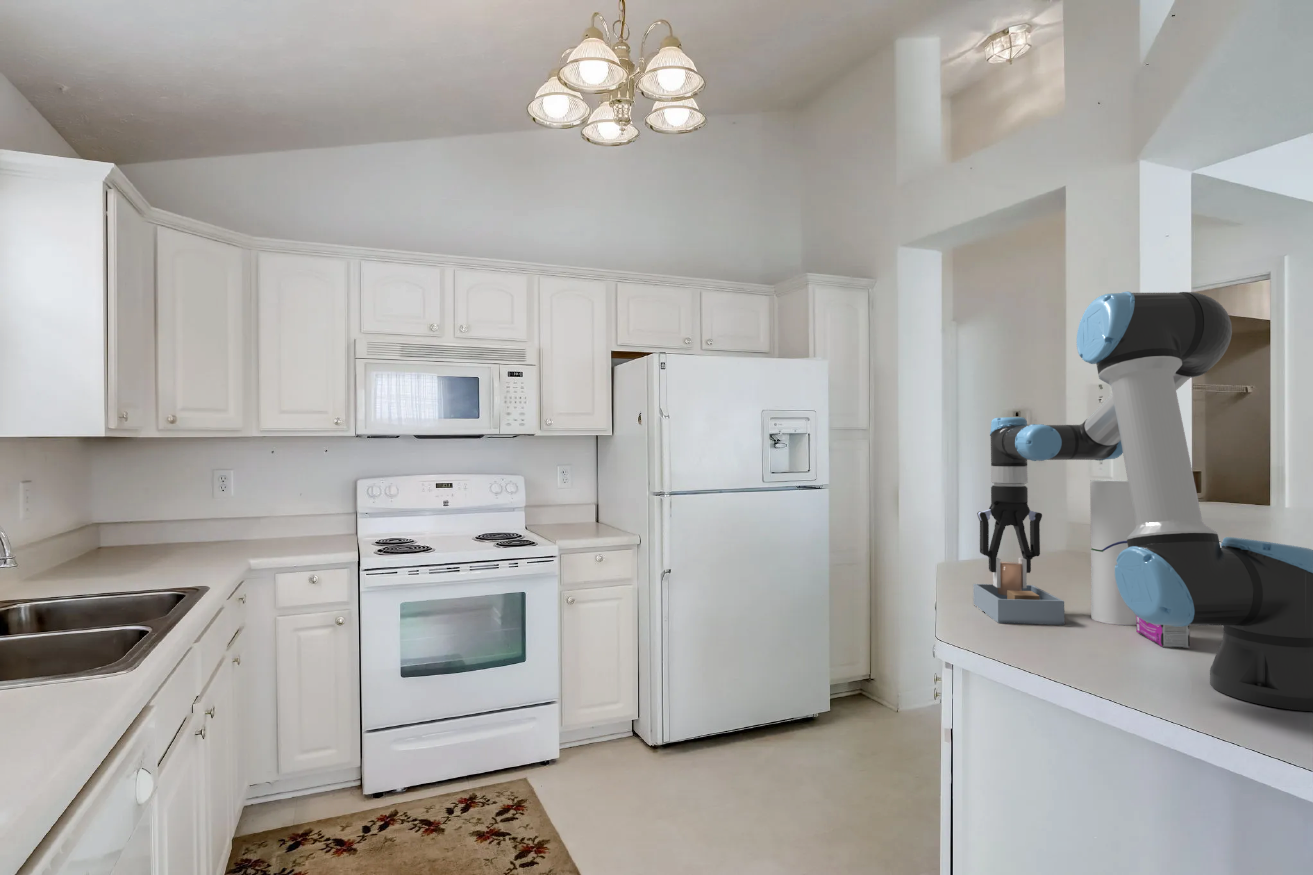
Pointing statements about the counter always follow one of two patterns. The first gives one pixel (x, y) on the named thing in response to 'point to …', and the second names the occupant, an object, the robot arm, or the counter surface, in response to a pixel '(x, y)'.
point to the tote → (1019, 606)
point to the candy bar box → (1164, 634)
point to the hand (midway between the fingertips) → (1009, 586)
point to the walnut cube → (1022, 595)
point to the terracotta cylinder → (1010, 577)
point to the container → (1109, 548)
